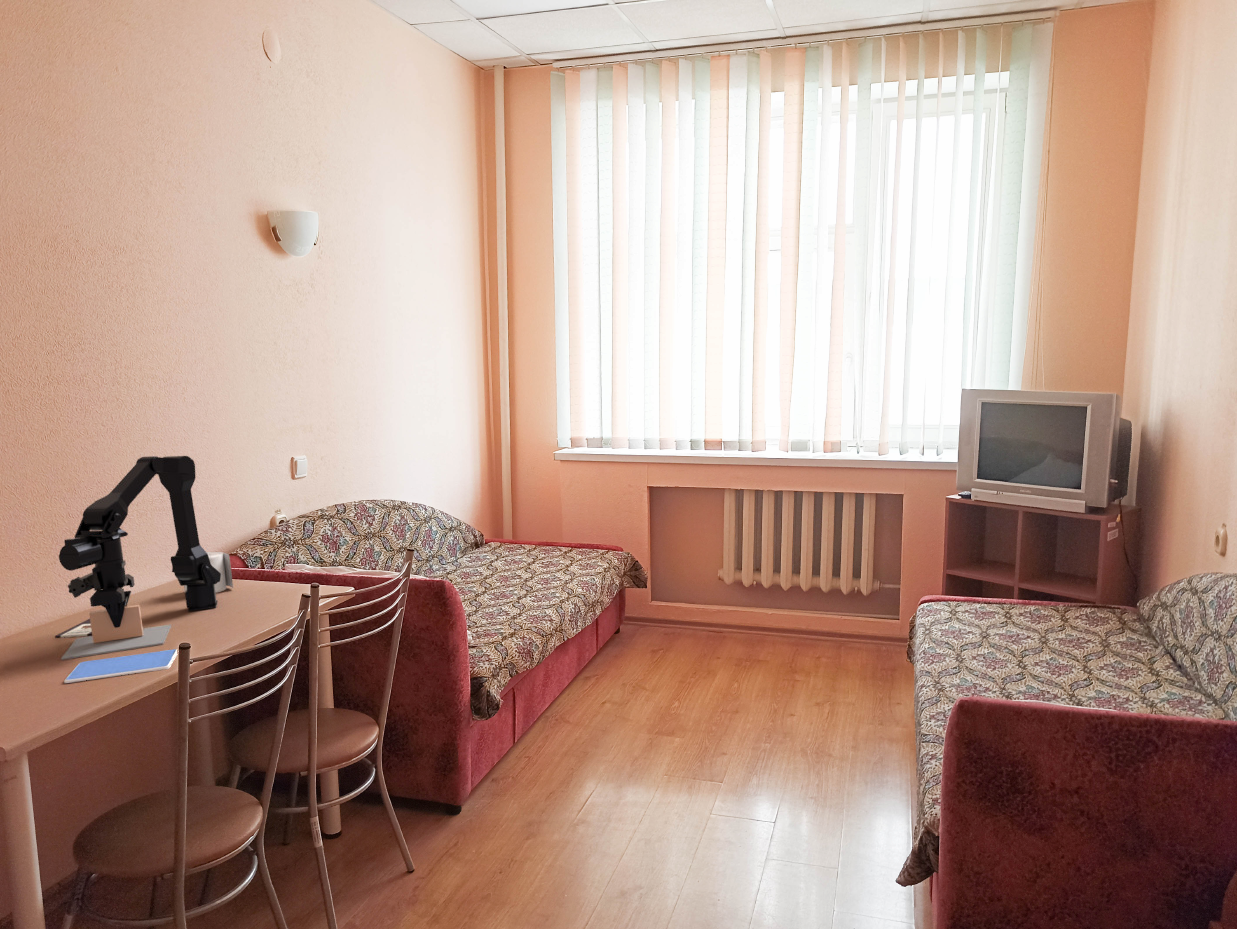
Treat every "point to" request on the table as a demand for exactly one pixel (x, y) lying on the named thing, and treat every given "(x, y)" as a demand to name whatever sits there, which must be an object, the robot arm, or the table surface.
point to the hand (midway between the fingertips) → (118, 626)
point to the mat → (117, 643)
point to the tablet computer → (122, 666)
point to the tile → (127, 629)
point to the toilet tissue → (220, 570)
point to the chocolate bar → (77, 630)
